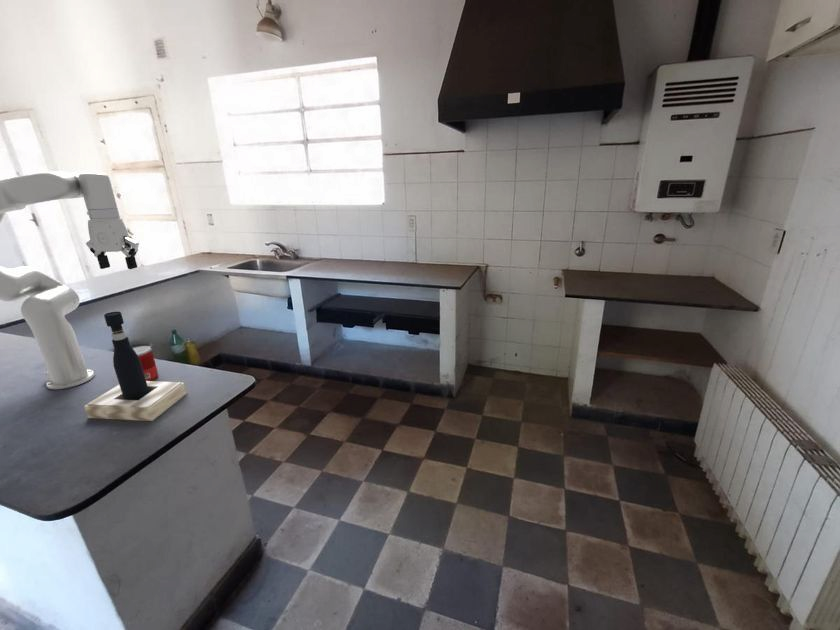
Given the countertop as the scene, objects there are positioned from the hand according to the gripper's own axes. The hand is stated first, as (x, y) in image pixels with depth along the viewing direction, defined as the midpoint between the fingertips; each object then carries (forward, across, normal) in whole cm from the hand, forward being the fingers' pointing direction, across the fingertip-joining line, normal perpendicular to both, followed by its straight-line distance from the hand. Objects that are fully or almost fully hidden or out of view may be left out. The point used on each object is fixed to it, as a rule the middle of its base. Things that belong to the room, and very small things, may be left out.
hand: (119, 268), depth 126 cm
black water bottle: (+38, +14, -20) cm, 46 cm away
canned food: (+38, +3, -5) cm, 39 cm away
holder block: (+38, +14, -20) cm, 46 cm away
